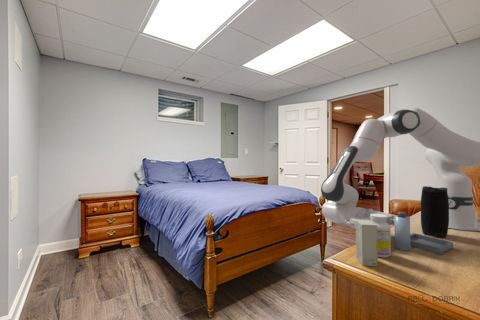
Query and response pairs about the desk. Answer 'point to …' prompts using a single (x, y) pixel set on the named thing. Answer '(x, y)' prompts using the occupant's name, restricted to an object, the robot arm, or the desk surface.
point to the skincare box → (366, 242)
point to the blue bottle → (402, 231)
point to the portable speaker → (435, 211)
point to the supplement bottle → (382, 234)
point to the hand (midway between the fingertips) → (395, 226)
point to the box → (430, 243)
